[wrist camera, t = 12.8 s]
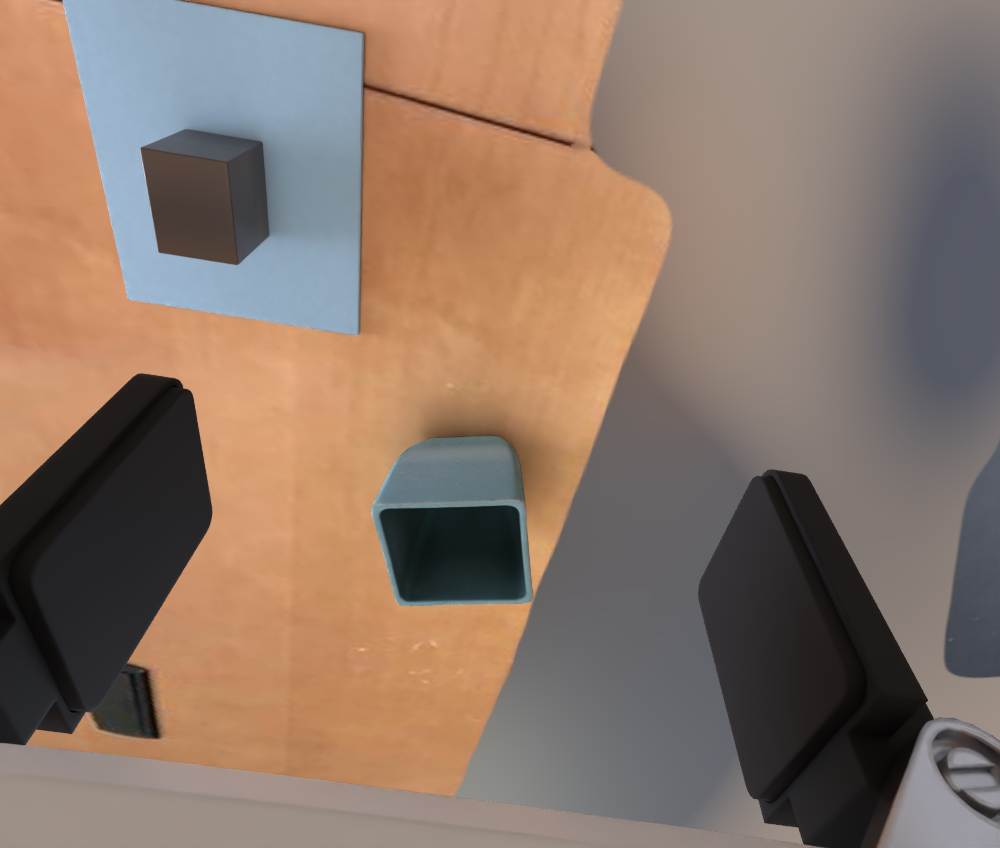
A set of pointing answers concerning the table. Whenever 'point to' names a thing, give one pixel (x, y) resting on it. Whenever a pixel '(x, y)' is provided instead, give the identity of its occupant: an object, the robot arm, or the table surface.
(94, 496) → the robot arm
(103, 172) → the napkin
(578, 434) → the table surface
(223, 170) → the walnut block
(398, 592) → the flower pot
